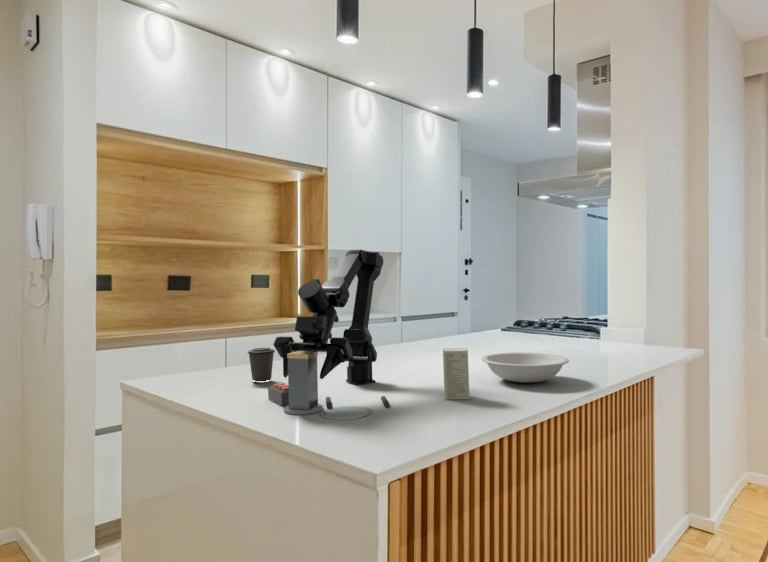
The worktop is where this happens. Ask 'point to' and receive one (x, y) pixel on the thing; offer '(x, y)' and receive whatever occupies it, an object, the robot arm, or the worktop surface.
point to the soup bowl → (525, 366)
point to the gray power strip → (279, 393)
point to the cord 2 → (385, 401)
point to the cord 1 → (328, 402)
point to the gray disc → (303, 412)
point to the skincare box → (456, 373)
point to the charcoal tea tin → (302, 380)
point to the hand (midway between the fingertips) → (302, 377)
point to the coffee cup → (261, 363)
